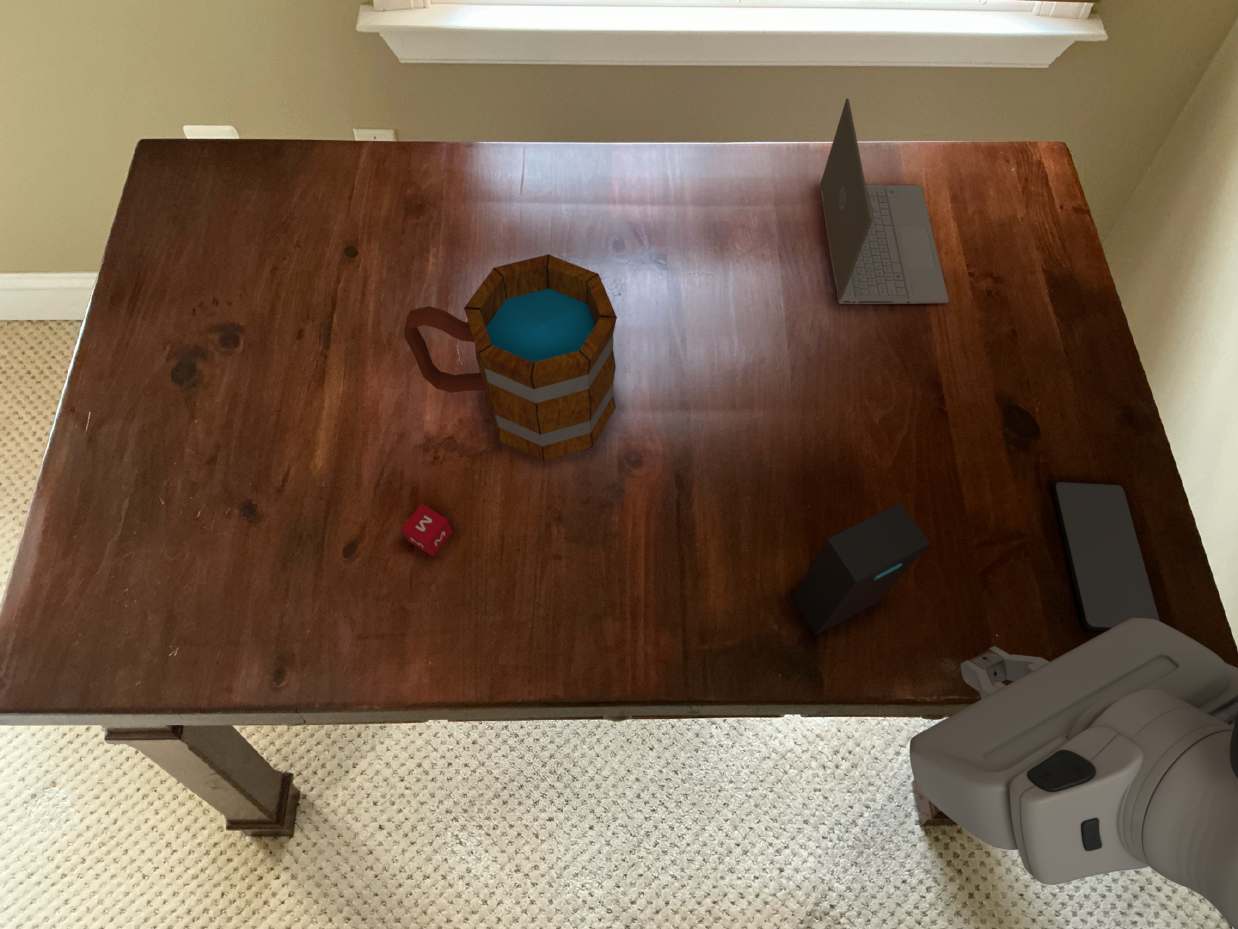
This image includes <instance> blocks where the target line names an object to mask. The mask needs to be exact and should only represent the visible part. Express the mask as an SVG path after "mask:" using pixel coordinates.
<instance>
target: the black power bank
mask: <svg viewBox="0 0 1238 929" xmlns="http://www.w3.org/2000/svg"><path fill="white" fill-rule="evenodd" d="M930 545H931V542H930V541H929V539H928V537H926V535H925V533H924V532H923V531H922V529H921V528H920V527H919V526H918V524H917V522H916V521H915V520H914V519H913V517H912V516H911V515H910V514H909V512H908V511H907V510H906V508H905V507H904V505H903V504H902V502H897V503H896V504H894V505H892V506H889V507H888V508H886V509H884V510H882V511H880V512H878V513H876V514H874V515H871V516H869V517H867V518H866V519H864V520H862V521H860V522H858V523H856V524H854V525H852V526H850V527H848V528H845V529H844V530H842V531H840V532H838V533H836V534H834V535H832V536H830V537H827V539H826V541H825V542H824V544H823V546H822V548H820V550H819V552H818V554H817V556H816V557H815V559H814V560H813V562H812V564H811V566H810V567H809V569H808V570H807V572H806V574H805V576H804V577H803V579H802V580H801V582H800V584H799V585H798V587H797V589H796V590H795V592H794V593H793V595H792V596H791V599H792V601H793V603H794V604H795V605H796V607H797V608H798V610H799V612H800V614H802V617H803V618H804V620H805V622H806V623H807V625H808V626H809V628H810V629H811V631H812V632H813V634H814V635H815V636H817V635H819V634H821V633H823V632H825V631H827V630H828V629H831V628H832V627H834V626H836V625H839V624H840V623H842V622H843V621H847V619H850V618H852V617H853V616H855V615H857V614H859V613H860V612H862V611H864V610H866V609H868V608H870V607H872V606H874V605H876V604H877V603H879V602H880V601H881V600H882V598H884V596H885V595H886V594H887V593H888V592H889V591H890V590H891V589H892V587H893V586H895V584H896V583H898V581H899V580H900V579H901V577H902V576H903V575H904V574H905V573H906V572H907V571H908V570H909V569H910V567H911V566H913V564H914V563H915V562H916V561H917V559H919V558H920V556H921V555H922V554H923V553H924V552H925V551H926V550H927V549H928V547H929V546H930Z"/></svg>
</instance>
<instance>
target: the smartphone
mask: <svg viewBox="0 0 1238 929" xmlns="http://www.w3.org/2000/svg"><path fill="white" fill-rule="evenodd" d="M1052 492H1053V497H1054V501H1055V505H1056V509H1057V510H1056V511H1057V514H1058V518H1059V519H1058V520H1059V523H1060V528H1061V532H1062V537H1063V540H1064V541H1063V542H1064V545H1065V549H1066V554H1067V558H1068V563H1069V567H1070V571H1071V578H1072V582H1073V587H1074V592H1075V596H1076V600H1077V606H1078V608H1079V613H1080V617H1081V618H1080V619H1081V622H1082V625H1083V627H1084V628H1085V629H1087V630H1088V631H1102V632H1106V631H1108V630H1109V629H1111V628H1113V627H1115V626H1117V625H1119V624H1120V623H1122V622H1124V621H1126V620H1128V619H1130V618H1148V619H1154V620H1157V621H1160V622H1161V619H1160V615H1159V612H1158V609H1157V605H1156V601H1155V596H1154V594H1153V590H1152V586H1151V582H1150V580H1149V575H1148V572H1147V568H1146V565H1145V561H1144V558H1143V554H1142V550H1141V547H1140V543H1139V539H1138V536H1137V533H1136V532H1137V531H1136V528H1135V525H1134V521H1133V518H1132V514H1131V510H1130V507H1129V503H1128V499H1127V495H1126V492H1125V489H1124V487H1123V486H1121V485H1120V484H1117V483H1116V484H1115V483H1098V482H1097V483H1096V482H1095V483H1094V482H1078V481H1077V482H1076V481H1056V482H1054V483H1053V485H1052Z"/></svg>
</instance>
